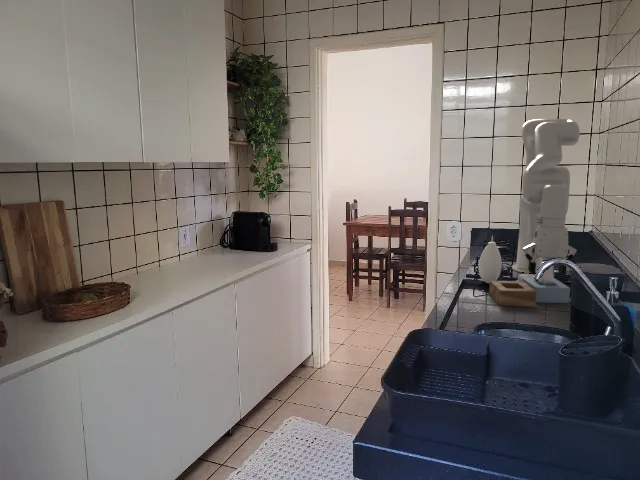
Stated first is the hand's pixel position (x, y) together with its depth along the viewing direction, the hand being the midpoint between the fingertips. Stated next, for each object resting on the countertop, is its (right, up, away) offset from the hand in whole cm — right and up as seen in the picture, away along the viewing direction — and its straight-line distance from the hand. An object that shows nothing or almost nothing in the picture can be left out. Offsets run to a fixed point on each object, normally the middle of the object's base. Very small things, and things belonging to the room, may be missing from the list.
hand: (546, 273), depth 155 cm
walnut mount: (-13, -9, -2) cm, 16 cm away
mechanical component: (0, -6, +13) cm, 14 cm away
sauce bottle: (-13, -5, +18) cm, 23 cm away
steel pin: (0, -8, +2) cm, 8 cm away
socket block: (0, -8, +2) cm, 8 cm away
